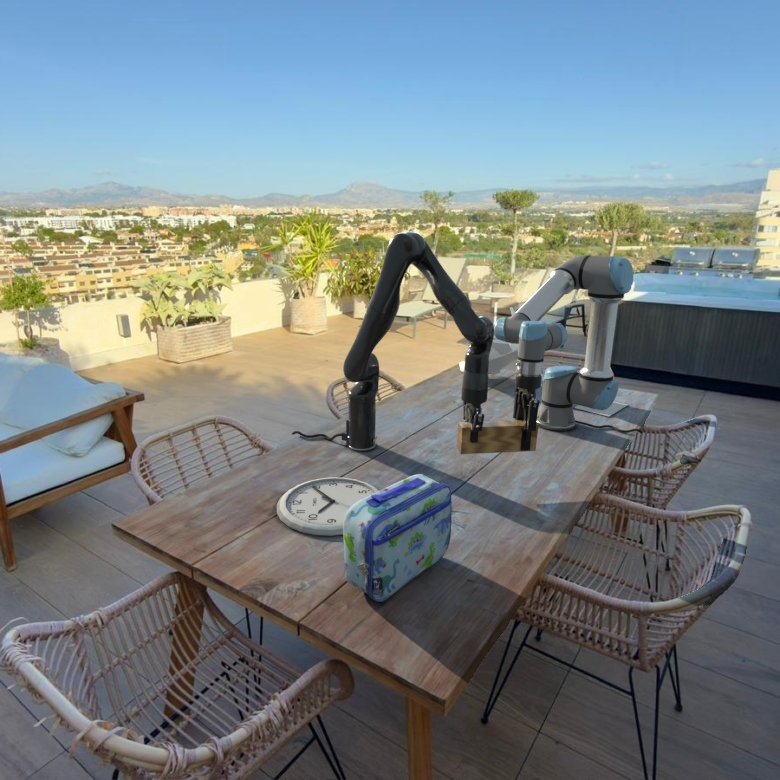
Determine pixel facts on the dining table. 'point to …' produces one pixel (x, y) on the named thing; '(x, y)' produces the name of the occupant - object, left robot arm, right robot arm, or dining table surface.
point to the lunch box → (396, 535)
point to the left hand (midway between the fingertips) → (471, 438)
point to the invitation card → (608, 412)
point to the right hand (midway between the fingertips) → (521, 446)
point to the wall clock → (321, 504)
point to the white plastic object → (500, 355)
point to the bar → (494, 437)
